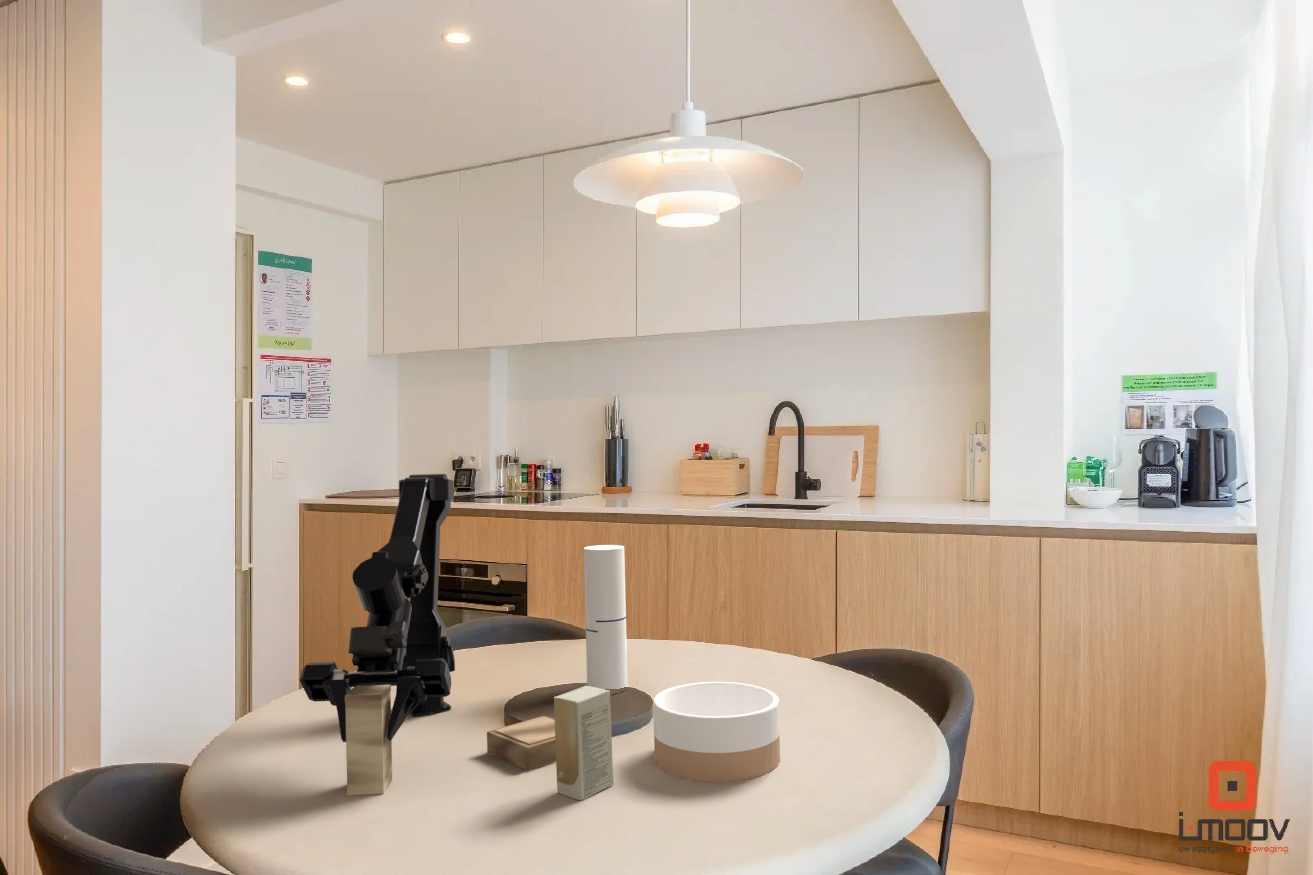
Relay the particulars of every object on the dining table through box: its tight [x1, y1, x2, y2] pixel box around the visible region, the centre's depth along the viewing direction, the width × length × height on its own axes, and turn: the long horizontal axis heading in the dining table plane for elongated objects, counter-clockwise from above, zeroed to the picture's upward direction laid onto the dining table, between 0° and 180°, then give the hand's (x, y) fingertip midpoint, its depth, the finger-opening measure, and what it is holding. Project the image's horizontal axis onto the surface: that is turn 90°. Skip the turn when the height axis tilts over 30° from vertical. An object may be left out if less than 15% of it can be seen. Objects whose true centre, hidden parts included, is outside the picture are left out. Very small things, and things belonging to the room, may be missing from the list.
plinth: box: [486, 715, 556, 772], centre depth 126 cm, size 10×10×3 cm
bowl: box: [652, 681, 781, 783], centre depth 122 cm, size 17×17×8 cm
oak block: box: [345, 685, 393, 796], centre depth 114 cm, size 5×5×12 cm
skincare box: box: [553, 685, 614, 801], centre depth 112 cm, size 6×4×12 cm
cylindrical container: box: [583, 544, 629, 689], centre depth 158 cm, size 7×7×25 cm
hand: (366, 739), depth 113 cm, fingers open, 5 cm apart
